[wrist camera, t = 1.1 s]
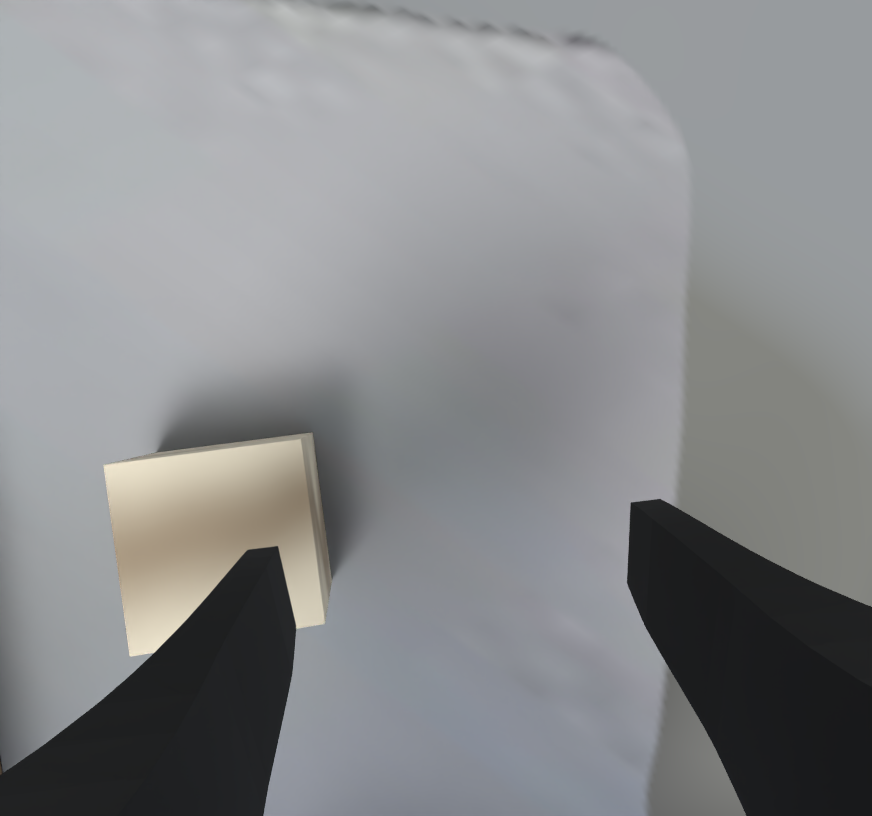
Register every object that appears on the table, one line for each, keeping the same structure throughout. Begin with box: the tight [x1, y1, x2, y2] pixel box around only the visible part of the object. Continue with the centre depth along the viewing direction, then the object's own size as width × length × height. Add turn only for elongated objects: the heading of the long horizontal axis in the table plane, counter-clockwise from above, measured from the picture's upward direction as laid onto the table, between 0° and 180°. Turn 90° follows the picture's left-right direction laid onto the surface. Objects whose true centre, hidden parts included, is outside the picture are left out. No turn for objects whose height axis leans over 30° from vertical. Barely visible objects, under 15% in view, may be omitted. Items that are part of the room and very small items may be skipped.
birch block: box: [104, 432, 332, 657], centre depth 22 cm, size 6×6×5 cm
